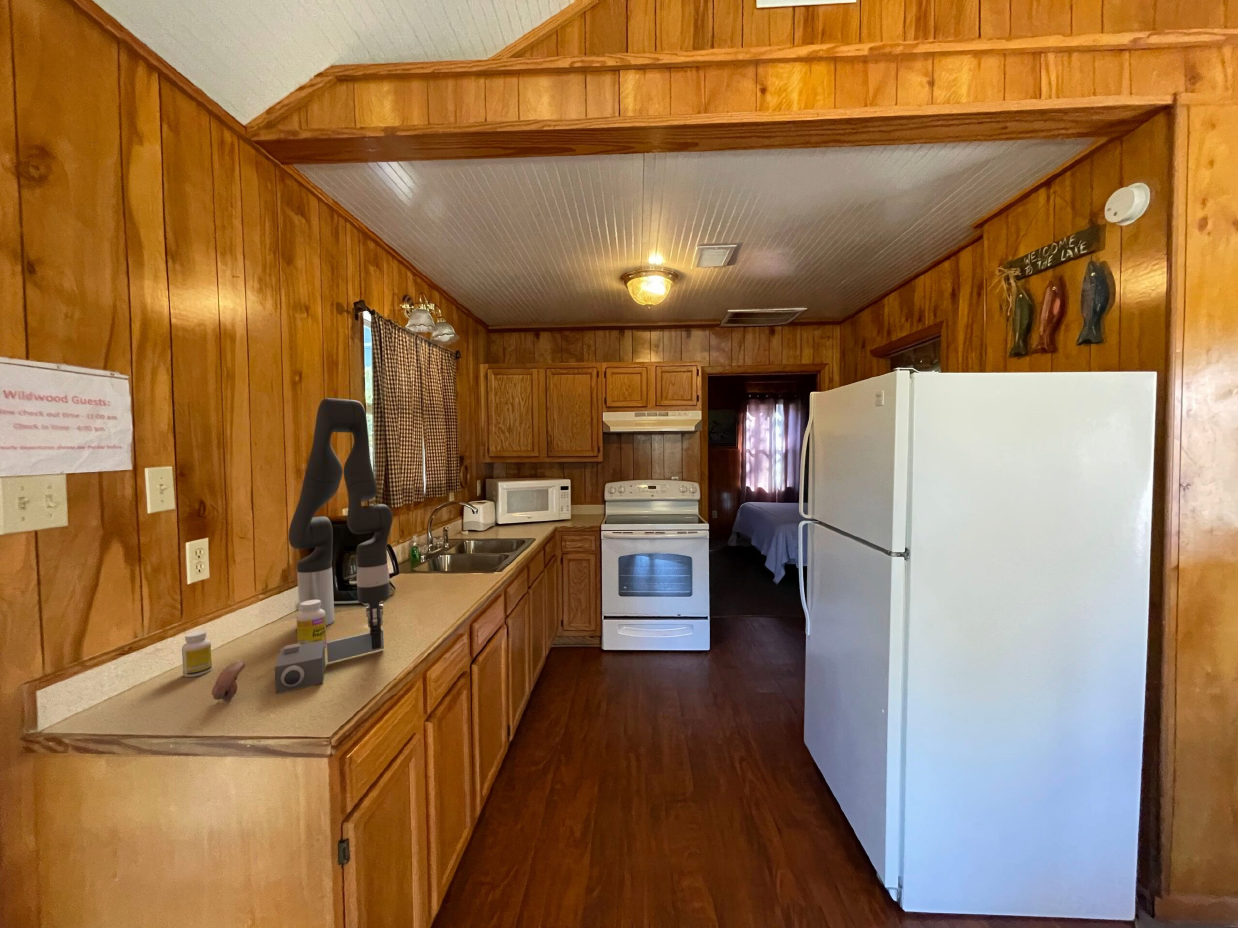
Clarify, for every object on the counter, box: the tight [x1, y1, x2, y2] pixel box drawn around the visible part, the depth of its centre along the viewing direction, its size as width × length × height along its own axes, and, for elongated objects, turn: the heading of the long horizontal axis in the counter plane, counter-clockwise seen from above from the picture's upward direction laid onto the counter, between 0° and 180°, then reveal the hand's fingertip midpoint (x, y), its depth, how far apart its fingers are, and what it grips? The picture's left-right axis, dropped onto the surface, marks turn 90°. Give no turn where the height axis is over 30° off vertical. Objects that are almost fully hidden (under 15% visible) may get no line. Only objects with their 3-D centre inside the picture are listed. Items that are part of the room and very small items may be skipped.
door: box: [326, 628, 385, 663], centre depth 130 cm, size 13×1×5 cm, turn 128°
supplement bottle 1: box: [181, 630, 213, 678], centre depth 122 cm, size 5×5×10 cm
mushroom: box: [211, 660, 246, 704], centre depth 108 cm, size 8×6×8 cm
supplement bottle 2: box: [296, 600, 327, 647], centre depth 135 cm, size 7×7×13 cm
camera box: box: [274, 641, 326, 694], centre depth 117 cm, size 14×9×7 cm, turn 28°
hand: (376, 647), depth 130 cm, fingers closed
